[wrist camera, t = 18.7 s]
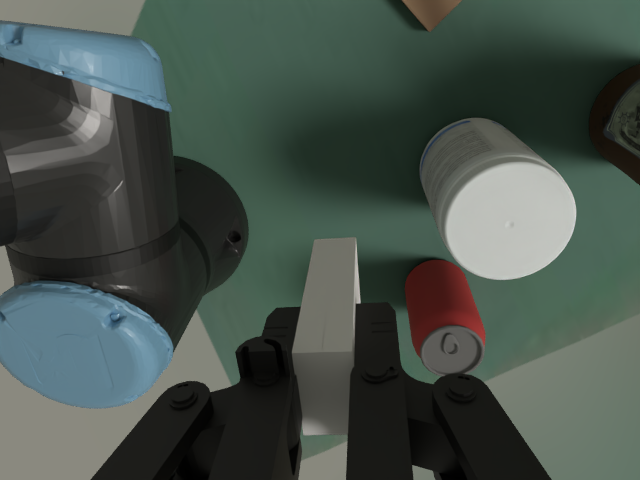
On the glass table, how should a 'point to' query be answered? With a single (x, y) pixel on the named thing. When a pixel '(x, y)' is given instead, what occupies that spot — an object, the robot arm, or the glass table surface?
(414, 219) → the glass table surface
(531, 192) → the supplement tub
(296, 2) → the glass table surface
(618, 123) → the olive oil
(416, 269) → the beer can
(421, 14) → the square wooden board
